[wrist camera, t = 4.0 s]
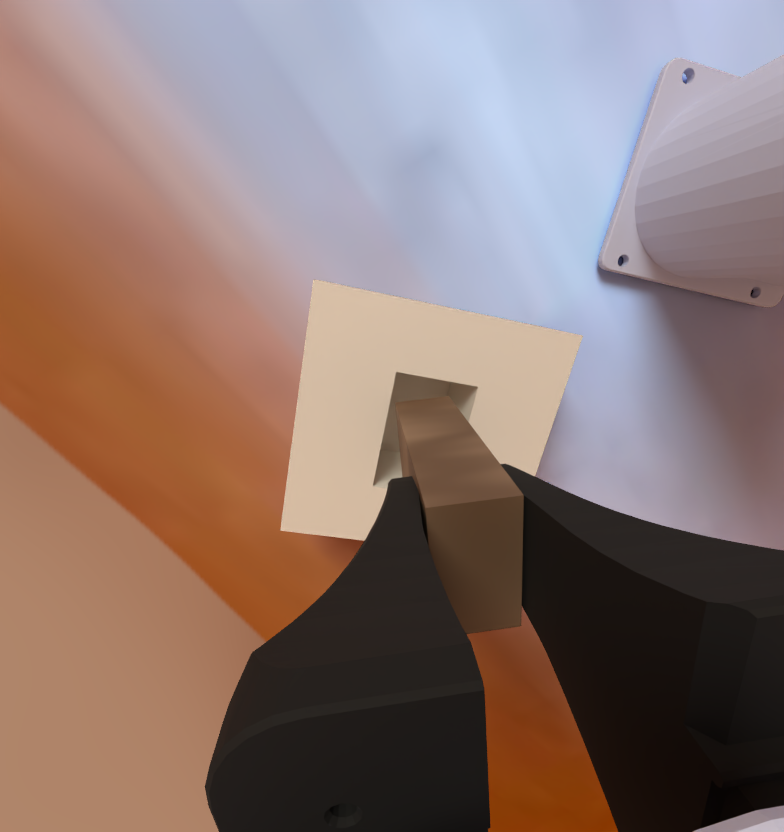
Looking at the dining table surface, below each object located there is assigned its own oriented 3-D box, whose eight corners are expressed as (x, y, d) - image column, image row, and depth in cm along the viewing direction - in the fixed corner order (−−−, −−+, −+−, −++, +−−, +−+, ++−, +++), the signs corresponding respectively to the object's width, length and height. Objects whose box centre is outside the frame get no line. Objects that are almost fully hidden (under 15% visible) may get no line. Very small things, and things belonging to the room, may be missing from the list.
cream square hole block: (532, 324, 19) (582, 335, 15) (478, 504, 22) (507, 557, 18) (324, 281, 18) (313, 279, 13) (296, 479, 20) (280, 530, 16)
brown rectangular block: (448, 395, 14) (524, 494, 8) (452, 479, 16) (521, 626, 9) (394, 402, 14) (425, 507, 8) (403, 485, 16) (436, 638, 9)
